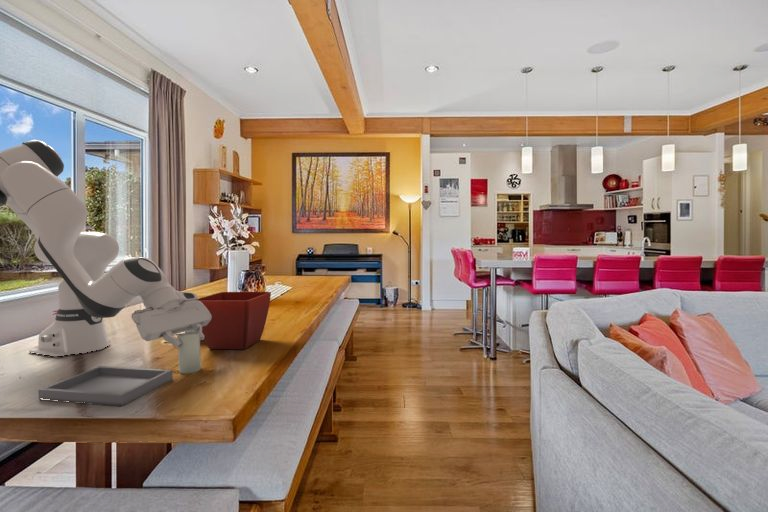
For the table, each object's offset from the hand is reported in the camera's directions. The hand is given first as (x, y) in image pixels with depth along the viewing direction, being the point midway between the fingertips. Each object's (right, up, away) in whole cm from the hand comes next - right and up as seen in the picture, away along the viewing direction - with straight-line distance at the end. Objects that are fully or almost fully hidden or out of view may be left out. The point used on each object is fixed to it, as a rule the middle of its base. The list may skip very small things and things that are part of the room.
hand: (190, 342), depth 108 cm
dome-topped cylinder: (0, -8, +1) cm, 8 cm away
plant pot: (+3, -6, +26) cm, 26 cm away
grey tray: (-14, -9, -12) cm, 20 cm away
